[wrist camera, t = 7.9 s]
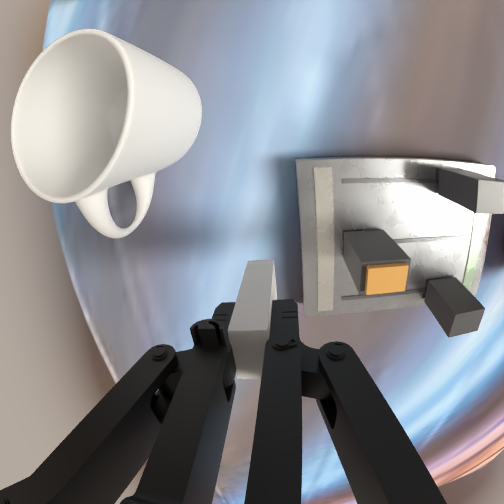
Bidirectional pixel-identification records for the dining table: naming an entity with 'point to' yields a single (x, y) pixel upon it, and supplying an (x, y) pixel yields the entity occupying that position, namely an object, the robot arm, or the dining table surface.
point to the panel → (384, 227)
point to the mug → (100, 123)
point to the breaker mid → (375, 262)
